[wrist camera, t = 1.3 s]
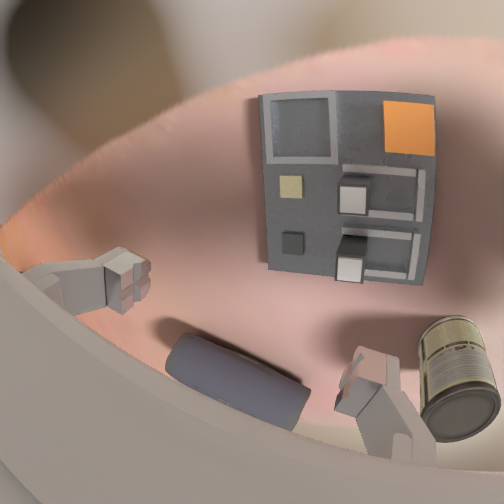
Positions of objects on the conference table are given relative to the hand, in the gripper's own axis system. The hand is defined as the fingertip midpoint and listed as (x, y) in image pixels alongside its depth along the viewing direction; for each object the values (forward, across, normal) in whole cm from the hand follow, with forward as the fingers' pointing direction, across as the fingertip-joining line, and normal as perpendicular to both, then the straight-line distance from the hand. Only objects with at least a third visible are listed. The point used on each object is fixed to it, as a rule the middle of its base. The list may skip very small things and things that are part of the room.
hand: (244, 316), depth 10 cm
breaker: (+25, -5, +6) cm, 26 cm away
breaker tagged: (+25, -3, -1) cm, 26 cm away
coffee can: (+28, -24, +14) cm, 39 cm away
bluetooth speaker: (+29, +4, +33) cm, 44 cm away
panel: (+28, -2, -1) cm, 28 cm away
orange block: (+25, -6, -9) cm, 28 cm away
